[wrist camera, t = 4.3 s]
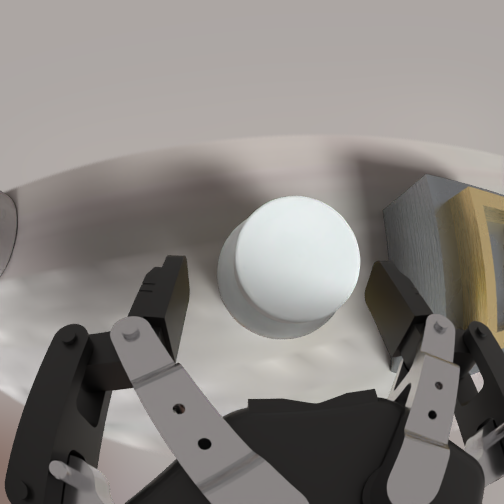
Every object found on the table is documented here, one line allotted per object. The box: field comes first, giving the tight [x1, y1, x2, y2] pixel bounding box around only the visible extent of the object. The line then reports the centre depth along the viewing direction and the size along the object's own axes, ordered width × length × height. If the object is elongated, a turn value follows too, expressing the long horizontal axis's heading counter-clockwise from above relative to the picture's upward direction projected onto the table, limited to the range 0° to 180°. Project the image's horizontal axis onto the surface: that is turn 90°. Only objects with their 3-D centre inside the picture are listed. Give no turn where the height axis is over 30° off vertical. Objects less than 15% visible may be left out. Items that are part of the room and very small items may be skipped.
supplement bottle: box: [217, 196, 360, 339], centre depth 13 cm, size 5×5×10 cm
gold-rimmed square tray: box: [383, 174, 504, 375], centre depth 14 cm, size 12×12×8 cm
